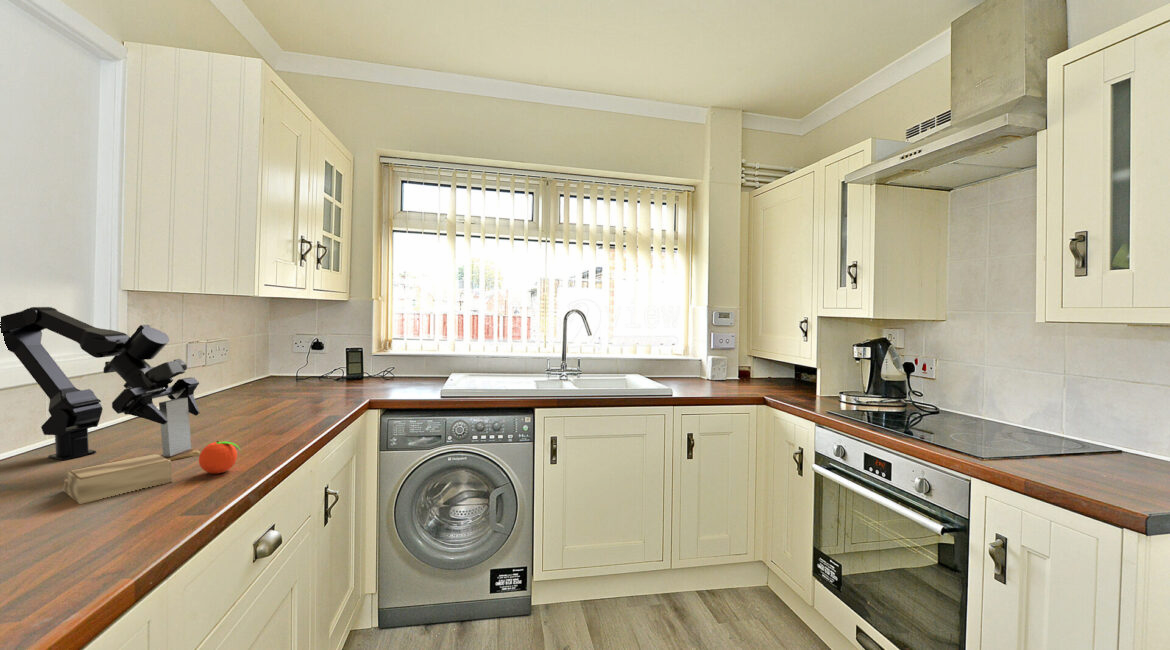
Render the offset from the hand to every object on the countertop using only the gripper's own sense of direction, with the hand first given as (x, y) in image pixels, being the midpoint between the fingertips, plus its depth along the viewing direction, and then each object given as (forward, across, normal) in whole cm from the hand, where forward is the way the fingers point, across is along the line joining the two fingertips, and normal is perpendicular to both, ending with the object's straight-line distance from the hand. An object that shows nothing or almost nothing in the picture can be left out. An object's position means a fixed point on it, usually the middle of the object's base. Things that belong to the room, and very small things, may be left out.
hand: (182, 418), depth 123 cm
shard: (+7, 0, +8) cm, 11 cm away
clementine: (+19, -10, -6) cm, 22 cm away
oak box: (+9, -19, +5) cm, 22 cm away
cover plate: (+5, 0, +7) cm, 9 cm away
